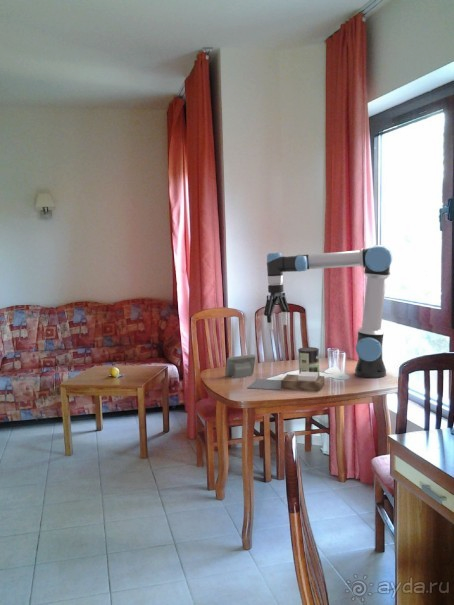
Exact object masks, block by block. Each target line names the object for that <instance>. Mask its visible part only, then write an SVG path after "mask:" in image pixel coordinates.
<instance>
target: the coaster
mask: <svg viewBox="0 0 454 605" xmlns="http://www.w3.org/2000/svg"><path fill="white" fill-rule="evenodd" d="M297 375H298V380H301V381H316V379H317V378H318V372H301V373H300V374H299V373H298V374H297Z"/></svg>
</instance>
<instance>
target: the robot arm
mask: <svg viewBox="0 0 454 605" xmlns="http://www.w3.org/2000/svg"><path fill="white" fill-rule="evenodd" d="M282 254H283V253H282V252H270V253H268V254H267V255H266V270H267V284H268V285H267V292H268V293H269V295H266V302H265V306H264V312H263V315H264V316H265V317H266V322H267V323H266V324H267V330H274V320H273V312H274V309H275V307H276V305H277V304H278V306H279V308H280V310H281V312H280V318H281V320H280V321H281V325H282V326H288V317H287V313H289V311H290V308H289V304H288V300H287V298H286V293H285V292H284V285H283V283H284V276H283V275H284V274H283V273H288V272H291V273H292V272H293V273H294V272H295V273H296V272H305V271H307V270H316V269H317V270H320V269H333V268H347V267H349V268H350V267H352V268H353V267H362V268H363V269H364V272H363V273H364V275H365V277H366V286H365V293H364V304H363V313H362V323H361V327H360V328H359V329H358V331H357V338H356V345H355V352H356V354H357V357H358V359H357V361H356V365H355V368H354V374H356V375H355V376H357V377H362V378H368V379H369V378H370V379H371V378H373V379H374V378H382V377H385V376H386V375H387V369H386V366H385V364H384V361H383V342H384V331H383V330H382V321H383V320H382V319H383V313H384V312H383V311H384V303H385V302H384V301H385V292H386V284H387V278H389V277H390V276H391V269H392V262H393V253H392V251H391V250H390V248H388V247H387V246H385V245H383V244H376V245H373V246H370V247H363V248H361V249H360V250H350V251H348V250H347V251H339V252H338V251H336V252H335V251H334V252H323V253H310V254H297V255H291V256H288V255H287V256H284V255H282Z"/></svg>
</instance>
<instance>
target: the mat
mask: <svg viewBox="0 0 454 605" xmlns="http://www.w3.org/2000/svg"><path fill="white" fill-rule="evenodd" d="M281 380H282V379H269V378H268V379H266V378H265V379H264V378H263V379H262V378H257V379H255V380H254V381H252V383H251V384H249V385H248V386H247V388H246V389H254V390H256V389H257V390H267V389H268V390H269V391H270V390H271V391H272V390H273V391H281V390H282V389H281Z"/></svg>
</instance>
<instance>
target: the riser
mask: <svg viewBox="0 0 454 605" xmlns="http://www.w3.org/2000/svg"><path fill="white" fill-rule="evenodd" d="M298 375H299V374H292V373H291V374H289V373H288V374H286V375H285V376H284V377H283V378H282V379H280V380H281V390H289V391H290V390H293V391H294V390H295V391H308V392H309V391H311V392H321V390H322V389H323V388H324V386H325V375H319V376H318V378H317V379H316V381H301V380H298Z"/></svg>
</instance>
